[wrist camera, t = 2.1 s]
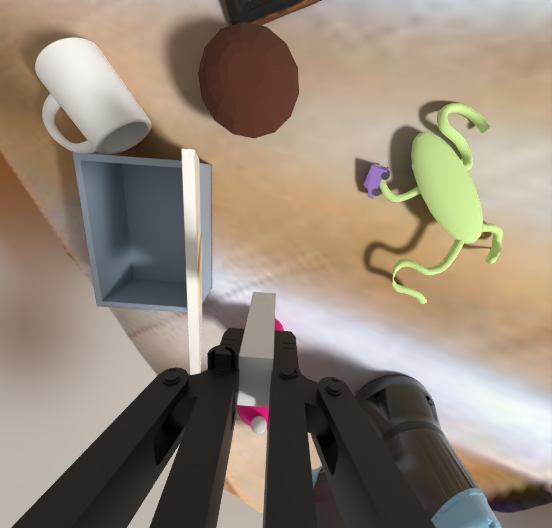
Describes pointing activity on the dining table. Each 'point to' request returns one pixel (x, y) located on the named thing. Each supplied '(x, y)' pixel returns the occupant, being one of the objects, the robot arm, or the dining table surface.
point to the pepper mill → (257, 407)
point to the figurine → (442, 191)
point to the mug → (89, 98)
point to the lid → (193, 254)
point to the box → (140, 230)
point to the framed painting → (263, 9)
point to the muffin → (248, 80)
